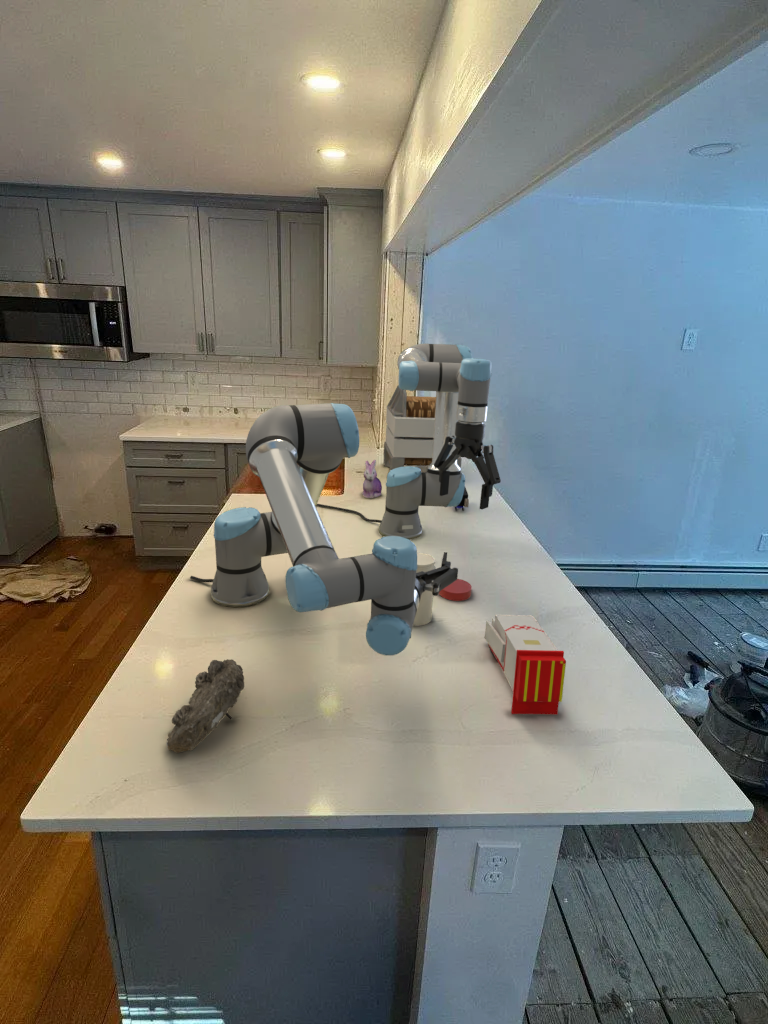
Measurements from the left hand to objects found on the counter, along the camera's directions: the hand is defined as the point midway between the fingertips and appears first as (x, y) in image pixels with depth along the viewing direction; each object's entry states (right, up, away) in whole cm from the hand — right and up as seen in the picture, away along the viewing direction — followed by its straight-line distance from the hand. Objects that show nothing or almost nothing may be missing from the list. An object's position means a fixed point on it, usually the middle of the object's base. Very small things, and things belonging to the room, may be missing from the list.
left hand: (415, 554), depth 129 cm
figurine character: (+23, +12, +101) cm, 104 cm away
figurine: (-12, +17, +110) cm, 112 cm away
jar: (+1, -18, +17) cm, 25 cm away
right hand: (+14, +12, +22) cm, 29 cm away
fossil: (-40, -30, -21) cm, 54 cm away
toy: (+22, -26, -4) cm, 35 cm away
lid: (+13, -11, +30) cm, 35 cm away
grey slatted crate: (+10, +28, +146) cm, 149 cm away
